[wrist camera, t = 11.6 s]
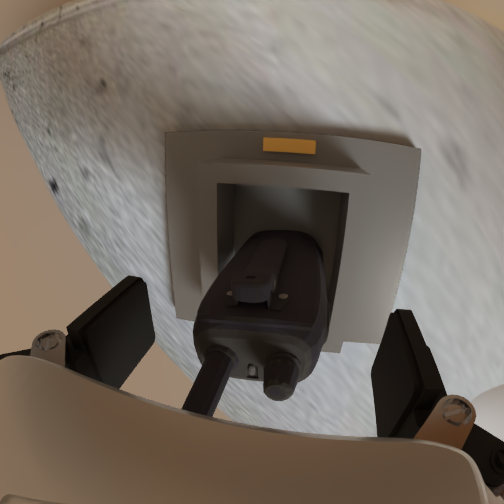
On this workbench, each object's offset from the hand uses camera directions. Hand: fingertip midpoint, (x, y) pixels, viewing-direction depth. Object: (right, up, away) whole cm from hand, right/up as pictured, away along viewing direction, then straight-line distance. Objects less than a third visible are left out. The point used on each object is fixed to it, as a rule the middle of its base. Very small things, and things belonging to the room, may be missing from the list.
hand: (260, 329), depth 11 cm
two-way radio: (+2, +3, +8) cm, 9 cm away
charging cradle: (+2, +4, +9) cm, 10 cm away
